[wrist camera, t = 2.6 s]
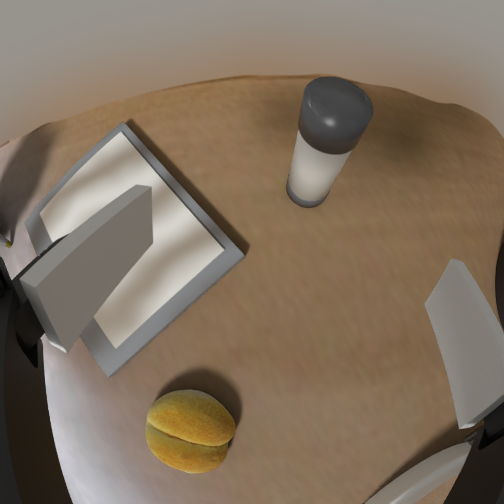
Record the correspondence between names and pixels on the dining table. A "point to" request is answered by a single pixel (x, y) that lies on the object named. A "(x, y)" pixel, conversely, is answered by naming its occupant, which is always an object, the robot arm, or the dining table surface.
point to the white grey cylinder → (325, 137)
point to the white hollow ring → (423, 477)
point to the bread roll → (189, 430)
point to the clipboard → (153, 260)
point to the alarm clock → (4, 240)
